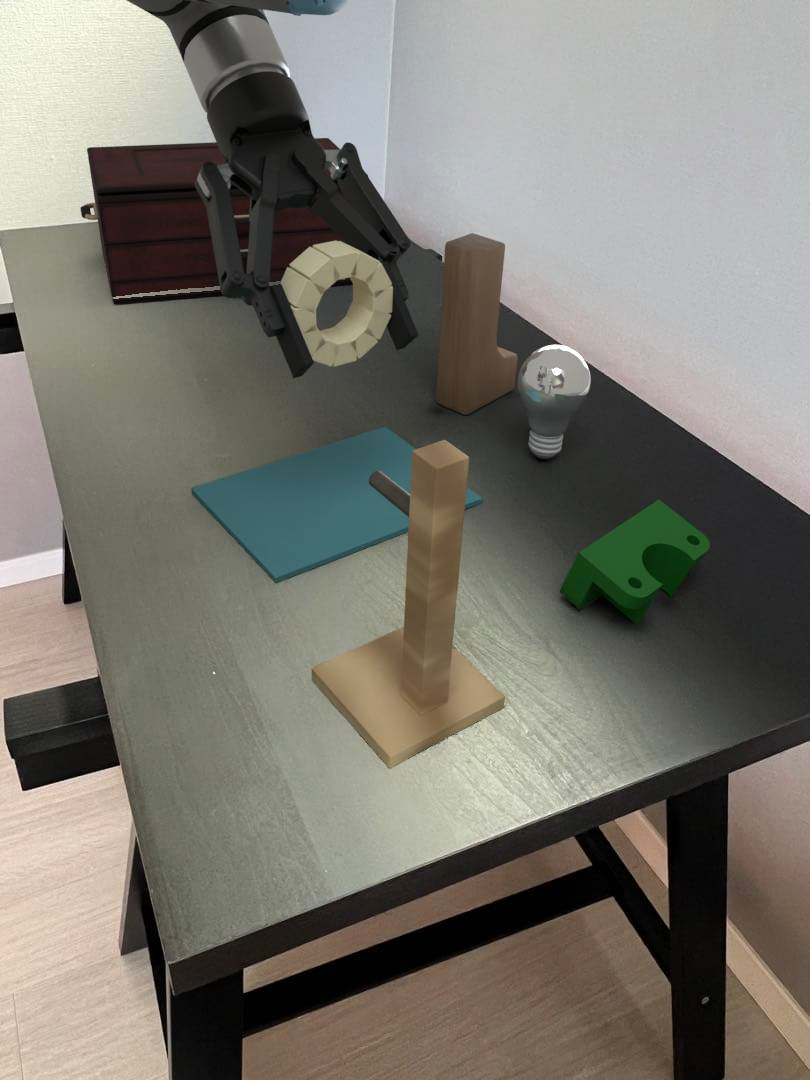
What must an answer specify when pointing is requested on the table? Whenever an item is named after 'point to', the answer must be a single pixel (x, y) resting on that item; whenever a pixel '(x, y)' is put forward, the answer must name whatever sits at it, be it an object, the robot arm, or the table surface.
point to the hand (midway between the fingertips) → (357, 356)
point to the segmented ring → (366, 309)
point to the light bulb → (552, 395)
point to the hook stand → (417, 627)
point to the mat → (315, 503)
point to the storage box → (179, 221)
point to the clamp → (636, 561)
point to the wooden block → (472, 326)
